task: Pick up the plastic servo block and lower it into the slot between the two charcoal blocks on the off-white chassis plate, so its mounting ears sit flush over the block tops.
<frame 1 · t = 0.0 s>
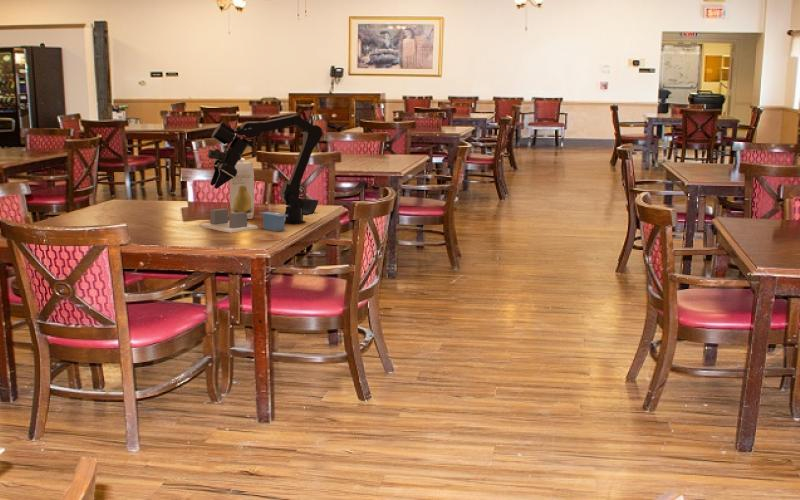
hand: (213, 186, 331), 15 cm above the table, tool tilted 35°, fingers open, 9 cm apart
black tapered bin: (301, 213, 370), on the table
juice carton: (242, 218, 353), on the table
servo block: (273, 229, 329), on the table
chassis plate: (228, 227, 331), on the table
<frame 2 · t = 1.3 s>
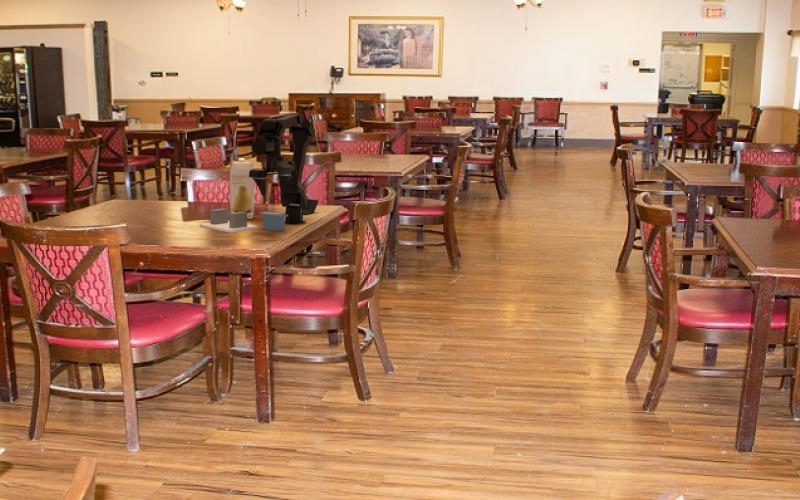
hand: (273, 195, 327), 13 cm above the table, tool pointing down, fingers open, 9 cm apart
nothing on the table moved.
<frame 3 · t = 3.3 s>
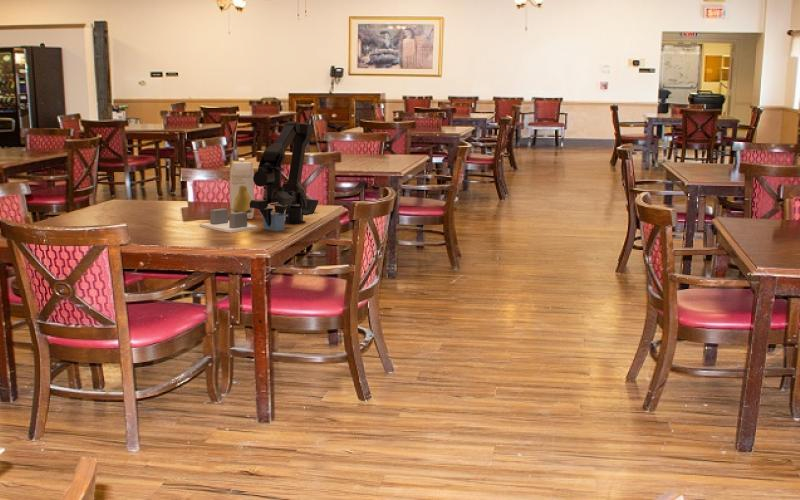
hand: (273, 225, 329), 2 cm above the table, tool pointing down, fingers closed on servo block, 4 cm apart
servo block: (273, 229, 329), on the table, touching gripper
everything else where it was.
when the fingers open (4 cm above the table, at t = 8.5 s): servo block drops 1 cm, resting on chassis plate.
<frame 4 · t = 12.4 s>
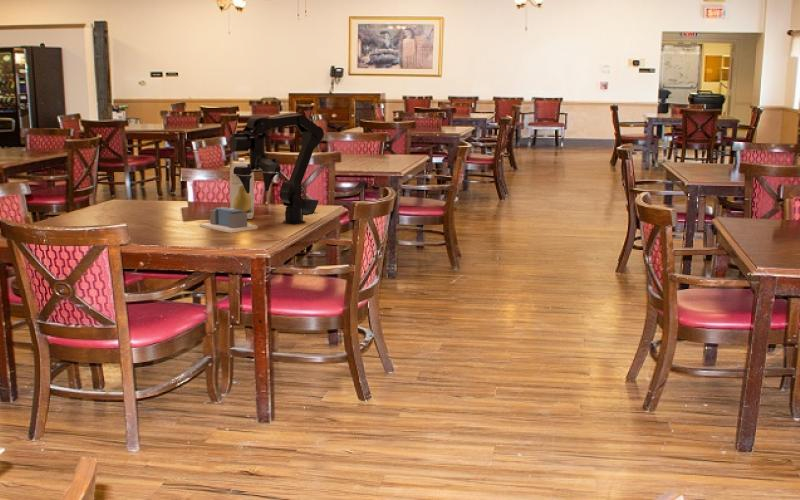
hand: (257, 192, 333), 13 cm above the table, tool pointing down, fingers open, 9 cm apart
servo block: (228, 225, 331), point 1 cm above the table, touching chassis plate
everything else where it was.
at the end: servo block 0.1 cm off-centre on the chassis plate, point 1.0 cm above the chassis plate's base; servo block tilted 0°; the gripper is holding nothing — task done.
